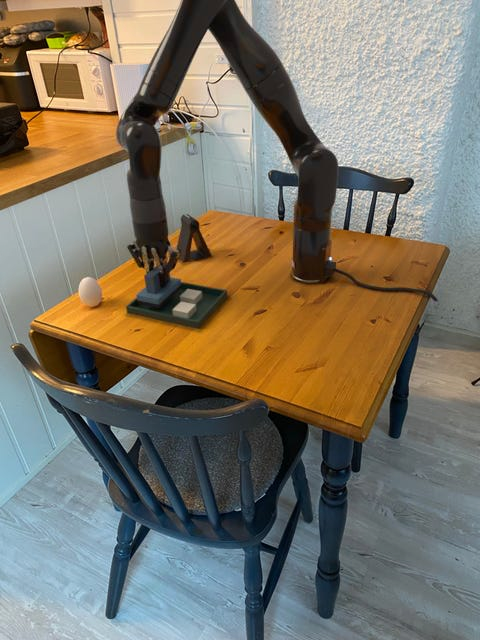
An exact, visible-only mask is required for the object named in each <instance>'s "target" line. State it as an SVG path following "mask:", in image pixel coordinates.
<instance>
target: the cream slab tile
mask: <svg viewBox="0 0 480 640" xmlns="http://www.w3.org/2000/svg"><path fill="white" fill-rule="evenodd" d="M195 312H196V304H191V303H186V302H180V303H179V304H178V305H177V306H176V307H175V308H174V309H173V315H174V316H179V317H183V318H188V319H189V318H190V317H191V316H192V315H193V314H194V313H195Z"/></svg>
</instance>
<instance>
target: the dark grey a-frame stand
mask: <svg viewBox="0 0 480 640" xmlns="http://www.w3.org/2000/svg"><path fill="white" fill-rule="evenodd" d="M180 222H181V226H180V229H179V230H180V231H179V236H178V240H177V243H176V248H175V249H180V250H181V254H180V256H179V259H178V260H179V261H180V262H182V263H187V262H190V261H195V262H196V261H200V260H205V259H208V258H211V257H212V253H211V252H210V251H211V250H210V249H209V247H208V244H207V243H206V240H205V239H204V236H203V234H202V231H201V229H200V221H199V220H197V219H196V218H194V217H193V216H192V215H190V214H188V213H186V215H185V214H182V216H180ZM193 242H194V245H195V247H196V249H194V250H192V244H193Z"/></svg>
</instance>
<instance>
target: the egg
mask: <svg viewBox="0 0 480 640" xmlns="http://www.w3.org/2000/svg"><path fill="white" fill-rule="evenodd" d="M78 296H79V299H80V301H81V302H82V303H83V304H84V305H85V306H87V307H90V308H92V307H93V308H94V307H96V306H98V305H99V304H100V303H101V301H102V299H103V290H102V287H101V285H100V284H99V282H98V281H97V280H96V279H94V278H93V277H90V276H86V277H83V278H82V280H81V281H80V283H79V285H78Z"/></svg>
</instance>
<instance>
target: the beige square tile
mask: <svg viewBox="0 0 480 640" xmlns="http://www.w3.org/2000/svg"><path fill="white" fill-rule="evenodd" d="M201 299H202V291H197V290H192V289H187V290H186V291H185V292H184V293H183V294H182V295H181V296H180V302H186V303H191V304H197V303H198V302H199V301H200V300H201Z"/></svg>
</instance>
